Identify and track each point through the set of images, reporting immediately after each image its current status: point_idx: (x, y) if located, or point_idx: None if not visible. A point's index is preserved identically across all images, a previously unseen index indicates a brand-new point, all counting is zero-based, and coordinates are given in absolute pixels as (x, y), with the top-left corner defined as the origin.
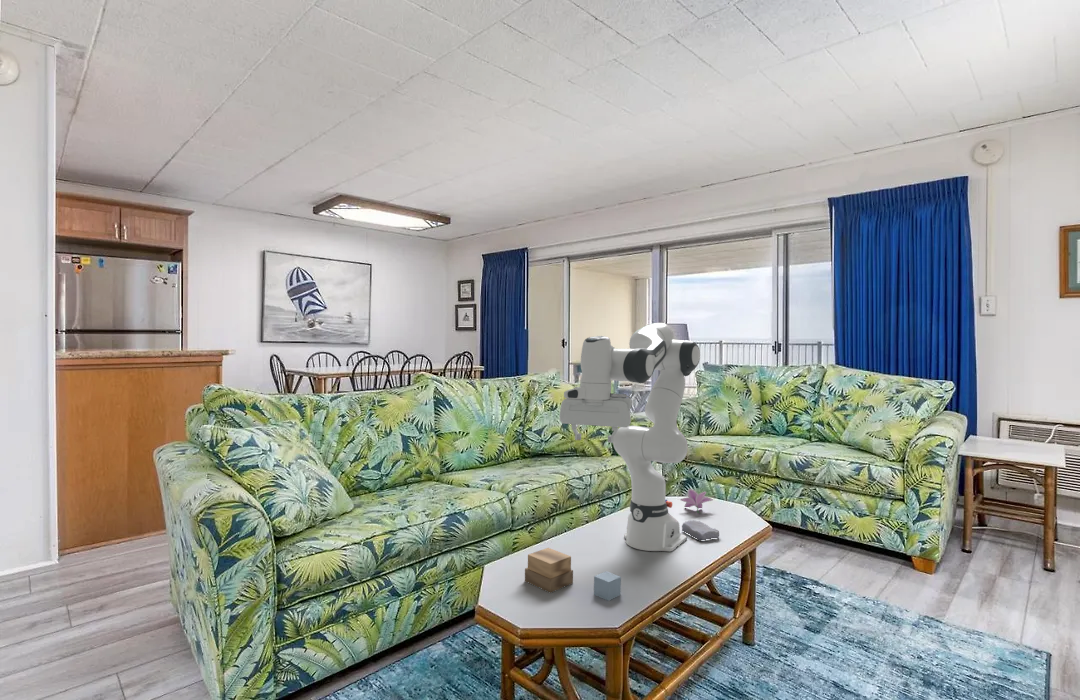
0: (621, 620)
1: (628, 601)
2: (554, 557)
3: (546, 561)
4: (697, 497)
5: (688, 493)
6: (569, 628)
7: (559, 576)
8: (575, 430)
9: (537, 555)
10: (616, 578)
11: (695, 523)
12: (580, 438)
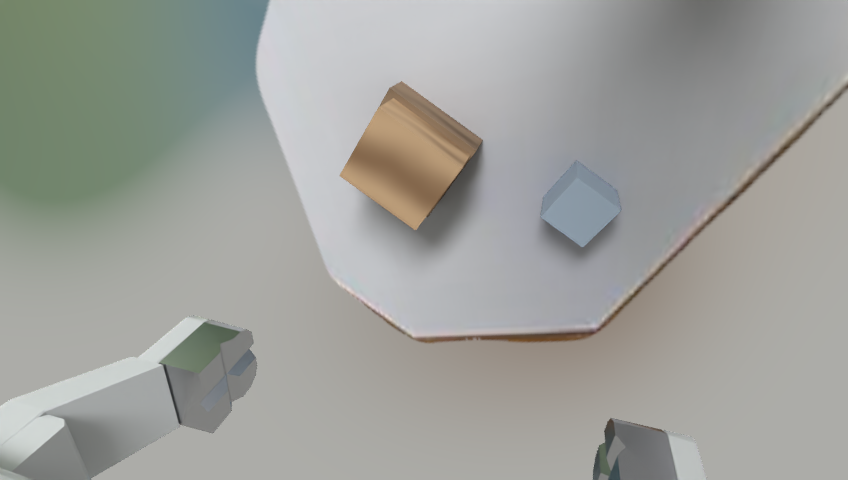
0: (606, 306)
1: (635, 221)
2: (415, 184)
3: (400, 215)
4: None
5: None
6: (499, 336)
7: (445, 192)
8: (121, 457)
9: (365, 177)
10: (606, 223)
11: None
12: (244, 373)
